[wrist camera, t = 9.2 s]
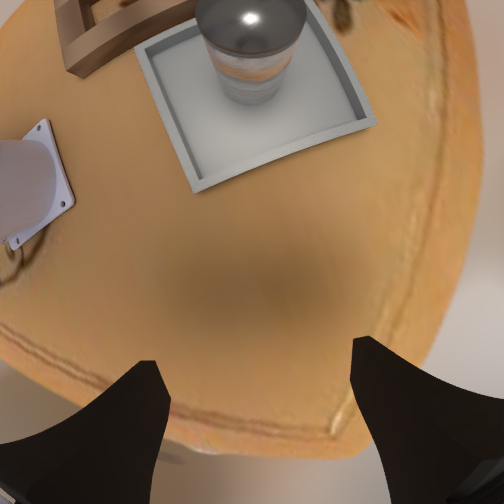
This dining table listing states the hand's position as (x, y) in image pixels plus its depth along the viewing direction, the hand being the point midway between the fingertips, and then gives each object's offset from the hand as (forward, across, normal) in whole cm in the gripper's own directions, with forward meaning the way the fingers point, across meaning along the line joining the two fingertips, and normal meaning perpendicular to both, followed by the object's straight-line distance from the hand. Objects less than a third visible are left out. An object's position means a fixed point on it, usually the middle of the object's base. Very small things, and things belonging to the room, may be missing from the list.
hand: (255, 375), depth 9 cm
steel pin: (+10, -2, -13) cm, 16 cm away
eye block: (+10, +7, -23) cm, 26 cm away
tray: (+10, -2, -13) cm, 17 cm away
